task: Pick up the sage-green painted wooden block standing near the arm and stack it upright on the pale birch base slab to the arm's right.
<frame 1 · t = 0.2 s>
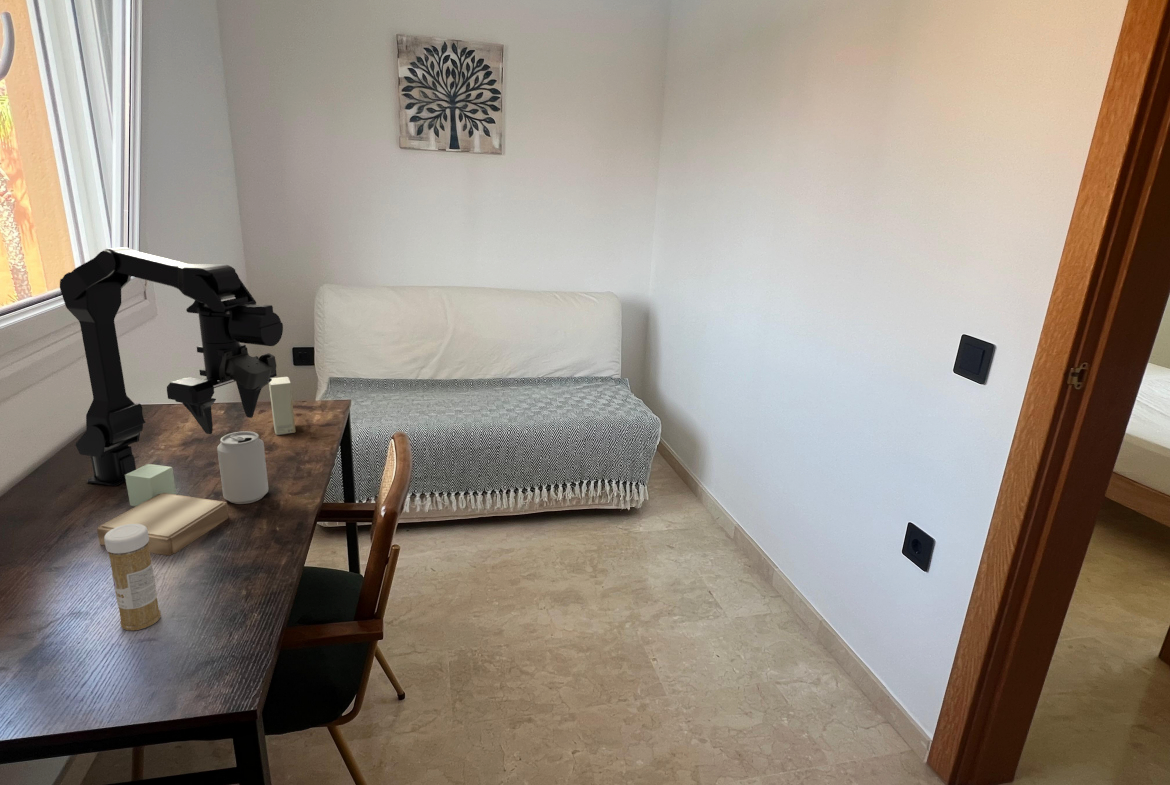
hand: (230, 425, 118), 14 cm above the table, fingers open, 9 cm apart
green block: (153, 501, 119), on the table
sprinkles bottle: (141, 622, 87), on the table
base slab: (167, 529, 110), on the table
can: (246, 497, 122), on the table
skincare box: (284, 430, 155), on the table
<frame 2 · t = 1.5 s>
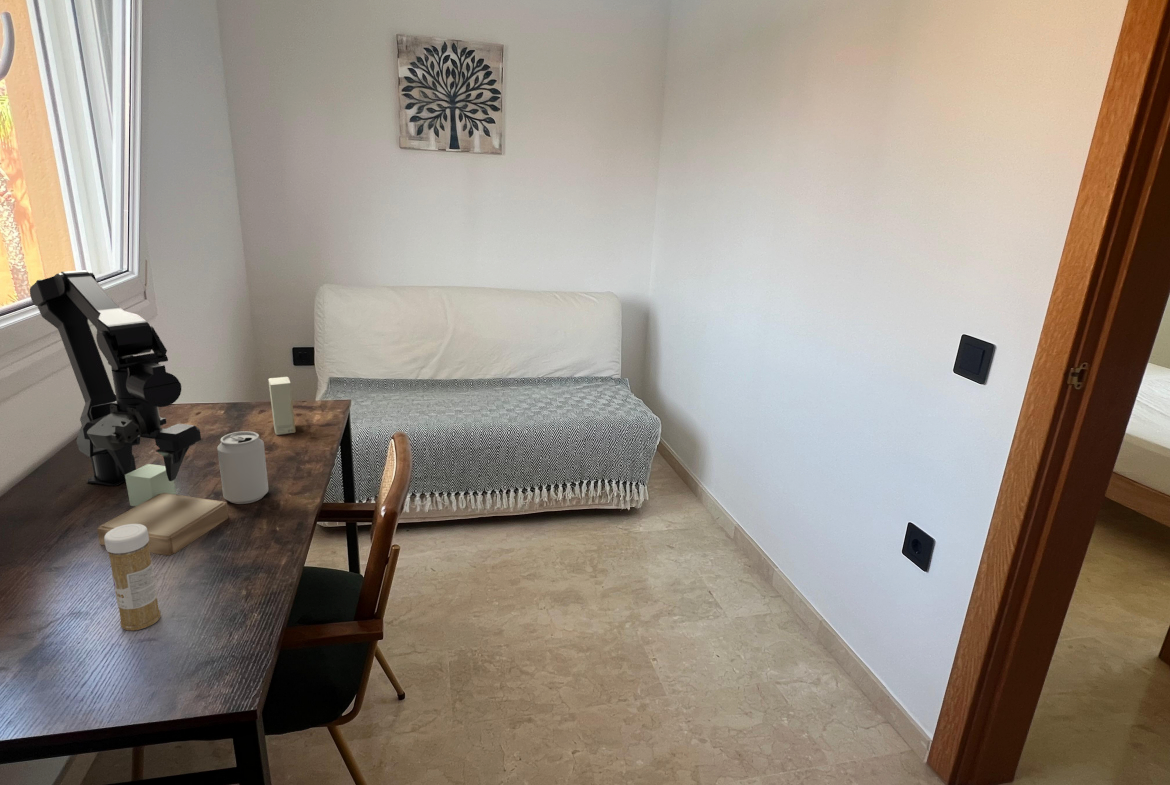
hand: (149, 477, 118), 5 cm above the table, fingers open, 9 cm apart
nothing on the table moved.
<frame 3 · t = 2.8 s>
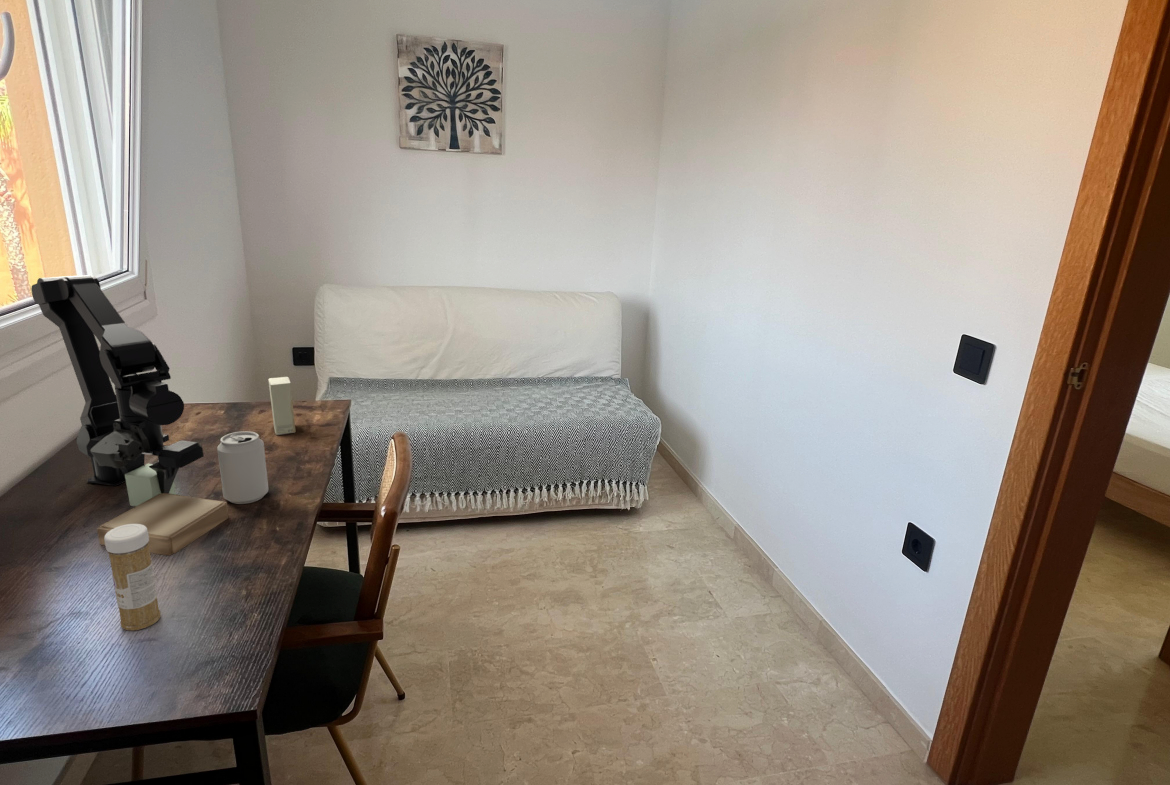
hand: (152, 493, 118), 2 cm above the table, fingers closed on green block, 5 cm apart
green block: (153, 501, 119), on the table, touching gripper
everything else where it was.
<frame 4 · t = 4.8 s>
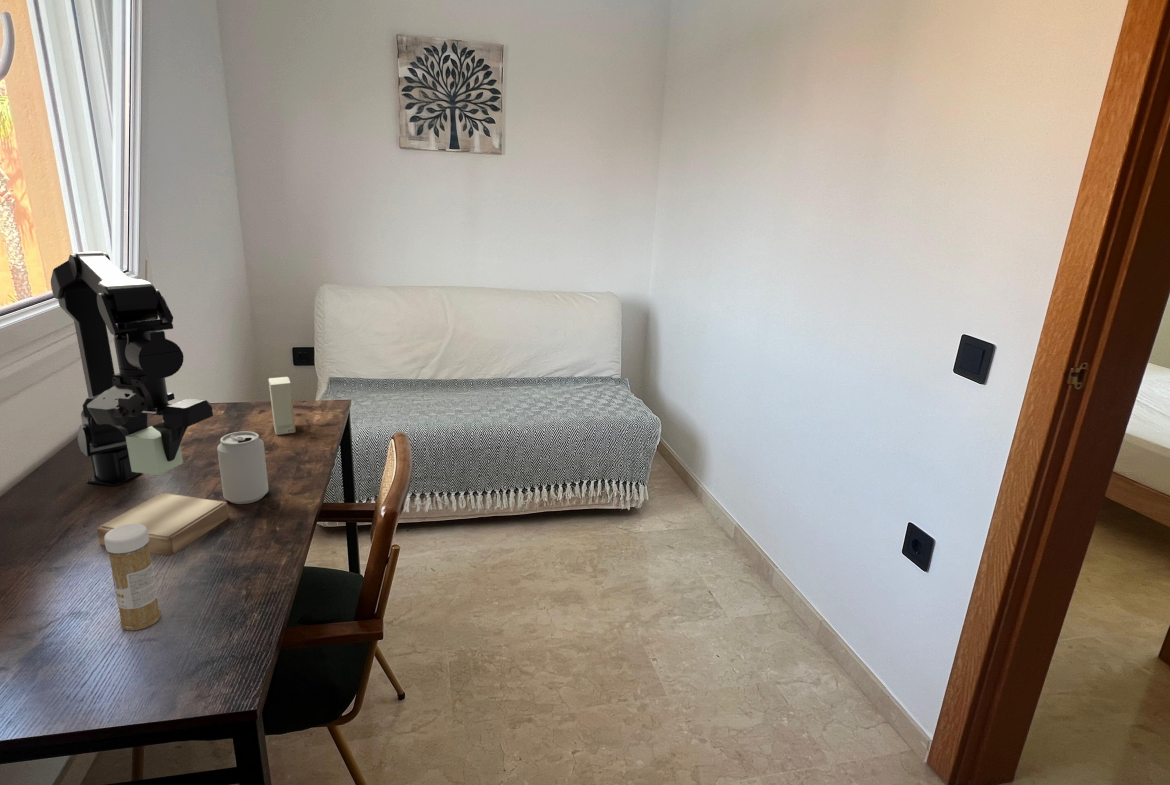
hand: (156, 458, 106), 13 cm above the table, fingers closed on green block, 5 cm apart
green block: (157, 467, 107), point 11 cm above the table, touching gripper
everything else where it was.
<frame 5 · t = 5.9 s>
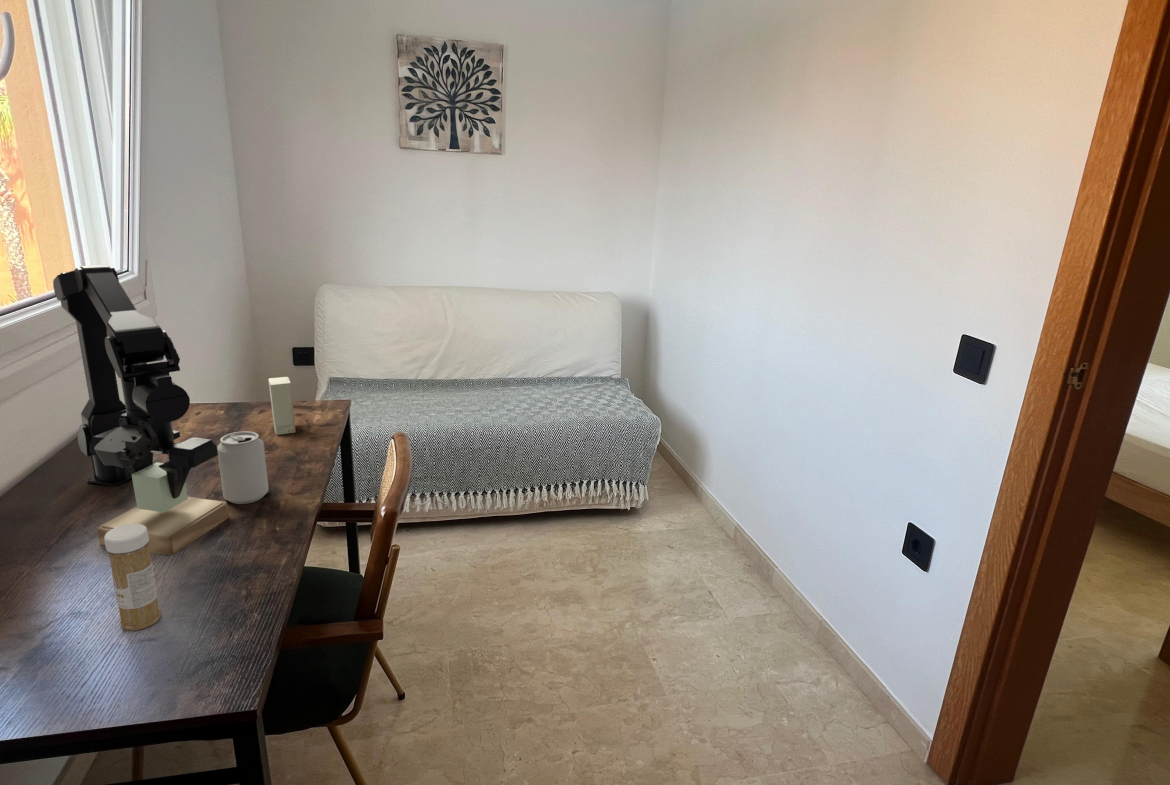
hand: (161, 495, 108), 6 cm above the table, fingers closed on green block, 5 cm apart
green block: (163, 503, 108), point 5 cm above the table, touching gripper
everything else where it was.
when the fingers open (5 cm above the table, at t = 6.9 s): green block stays where it is, resting on base slab.
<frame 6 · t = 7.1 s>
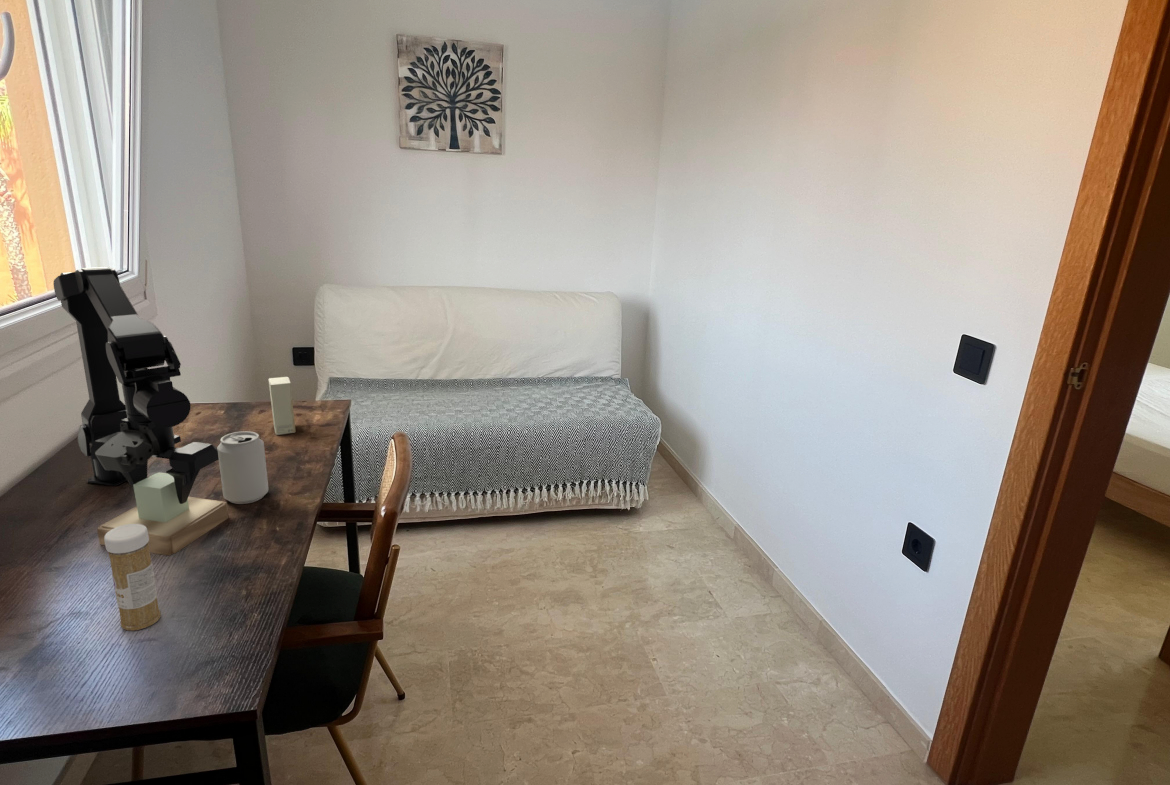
hand: (162, 499, 108), 5 cm above the table, fingers open, 7 cm apart
green block: (164, 513, 109), point 3 cm above the table, touching base slab
everything else where it was.
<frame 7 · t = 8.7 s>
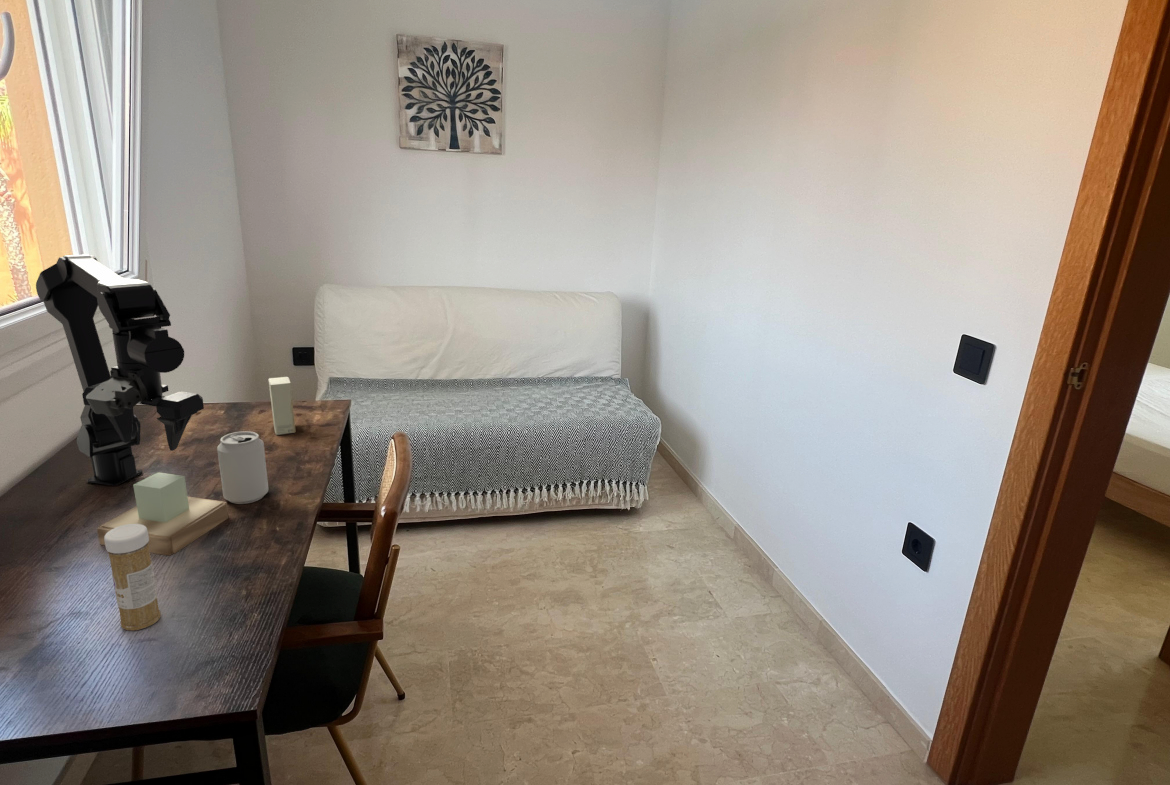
hand: (150, 445, 114), 11 cm above the table, fingers open, 9 cm apart
nothing on the table moved.
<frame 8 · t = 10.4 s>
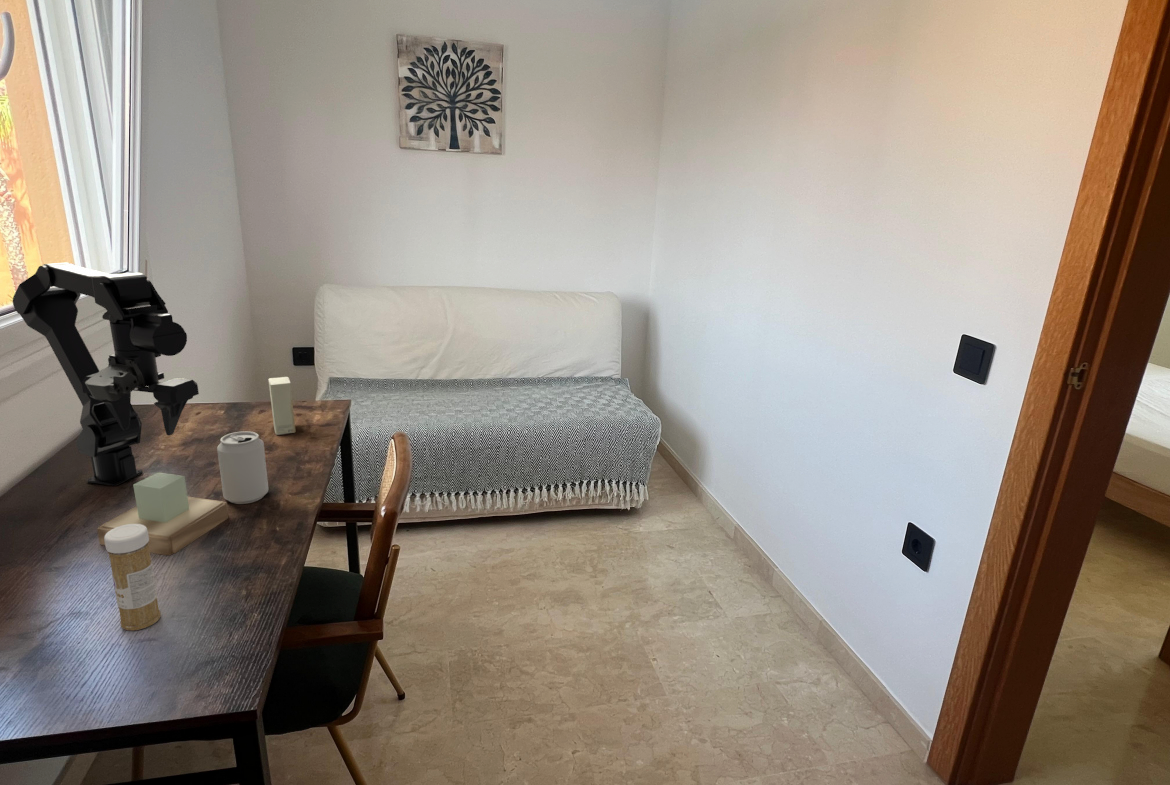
hand: (147, 431, 118), 12 cm above the table, fingers open, 9 cm apart
nothing on the table moved.
at the end: green block inside the target area on the base slab (0.1 cm from its centre), point 3.0 cm above the base slab's base; green block tilted 0°; the gripper is holding nothing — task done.
